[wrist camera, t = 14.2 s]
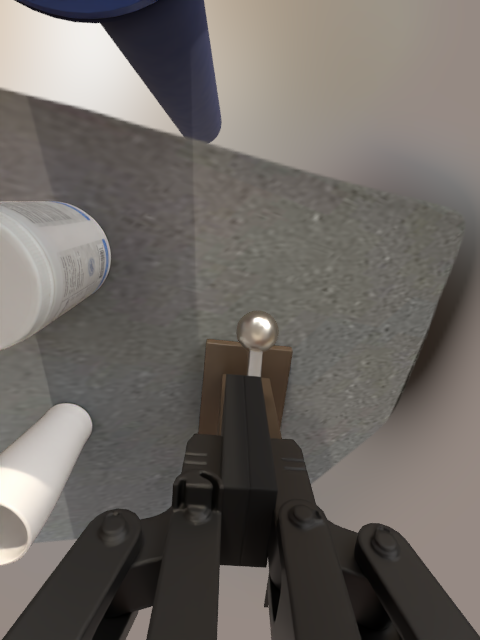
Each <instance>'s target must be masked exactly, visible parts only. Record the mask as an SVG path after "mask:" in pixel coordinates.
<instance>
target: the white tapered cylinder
mask: <svg viewBox="0 0 480 640" xmlns="http://www.w3.org/2000/svg"><path fill="white" fill-rule="evenodd" d="M91 432H92V420H91V418H90V416H89V414H88V413H87V412H86V411H85V410H84V409H83V408H81V407H80V406H78V405H75V404H71V403H61V404H58V405H55V406H53V407H52V408H50V409H49V410H48V411H47V412H46V413H45V414H44V415H43V416H42V417H41V418H40V419H39V420H38V421H37V422H36V423H35V424H34V425H33V426H32V427H30V428H29V429H28V430H27V431H26V432H25V433H24V434H22V435H21V436H20V437H19V438H18V439H17V440H16V441H14V442H13V443H12V444H11V445H10V446H9V447H8V448H6V449H5V450H4V451H3V452H2V453H1V454H0V566H3V565H7V564H10V563H13V562H15V561H17V560H19V559H20V558H21V557H23V556H24V555H25V554H26V553H27V551H28V550H29V548H30V547H31V545H32V544H33V542H34V541H35V539H36V538H37V536H38V535H39V533H40V532H41V530H42V528H43V527H44V525H45V523H46V522H47V520H48V518H49V517H50V515H51V513H52V511H53V509H54V507H55V505H56V504H57V501H58V499H59V497H60V495H61V493H62V491H63V489H64V487H65V485H66V482H67V480H68V478H69V476H70V474H71V472H72V470H73V468H74V465H75V463H76V461H77V459H78V457H79V455H80V453H81V451H82V449H83V447H84V445H85V443H86V441H87V440H88V438H89V436H90V434H91Z"/></svg>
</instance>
